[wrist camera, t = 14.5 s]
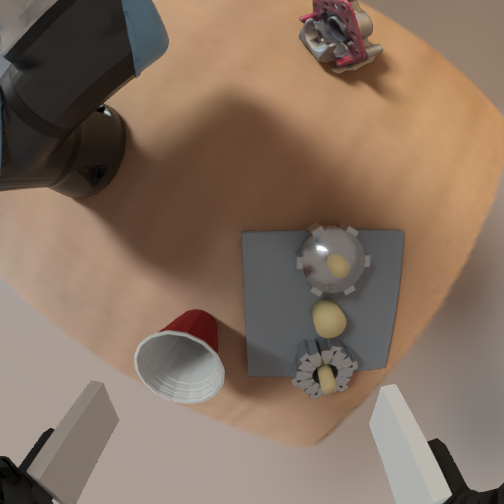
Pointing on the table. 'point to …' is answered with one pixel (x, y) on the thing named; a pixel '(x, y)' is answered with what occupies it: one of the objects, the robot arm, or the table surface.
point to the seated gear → (320, 248)
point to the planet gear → (317, 355)
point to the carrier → (317, 302)
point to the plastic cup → (182, 359)
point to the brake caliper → (339, 34)
